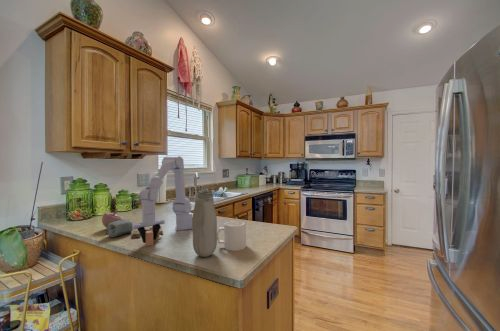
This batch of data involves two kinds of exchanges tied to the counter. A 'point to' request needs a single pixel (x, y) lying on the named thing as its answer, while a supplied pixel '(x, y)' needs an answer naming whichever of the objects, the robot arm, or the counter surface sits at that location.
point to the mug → (233, 235)
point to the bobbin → (157, 234)
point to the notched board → (137, 234)
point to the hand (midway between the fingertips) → (149, 241)
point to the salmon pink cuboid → (149, 238)
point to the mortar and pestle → (110, 218)
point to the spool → (119, 227)
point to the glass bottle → (204, 224)
